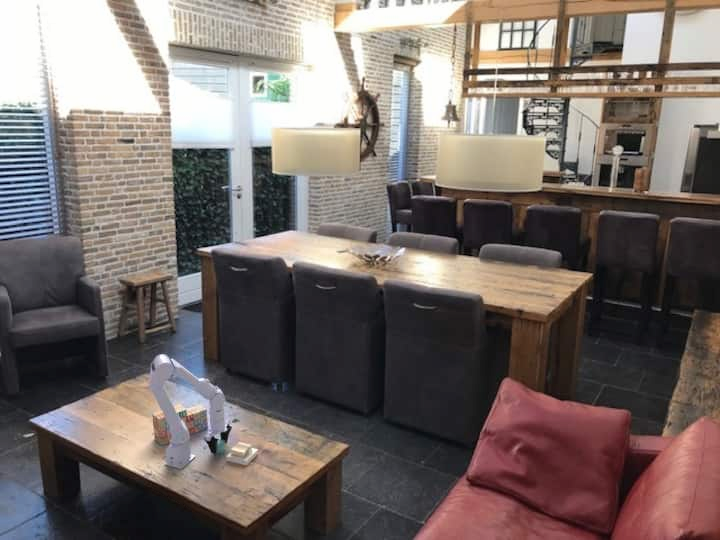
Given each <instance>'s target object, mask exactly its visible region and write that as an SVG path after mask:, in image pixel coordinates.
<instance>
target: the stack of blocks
mask: <svg viewBox="0 0 720 540" xmlns="http://www.w3.org/2000/svg"><path fill="white" fill-rule="evenodd" d="M173 406H174V408H175V410H176V412H177V414H178V415H179V417H180V418H181V419H182V420H183V421H184V422H185V423H186V427H187V429H188V431H189V433H190V435H193V434H195V433H198V432H201V431H204V430H207V429H209V426H208V425H209V423H208V422H209V421H208V412H207V411H208V410H207V408H205V407H204V406H203V405H202V404H197V405H193V406H190V407H188V408H187V407H186V408H185V407H184V406H183V405H182V404H177V405H173ZM152 426H153V434H154V435H153V437H154V440H155V441H156V442H157V443H158V444H159V445H160V446H161V445H164V444H168V443H170V439H171V436H172V434H171V431H170V429H169V424H168V422H167V420H166V418H165V416H164V414H163V412H162V410H161V409H160V410H158V411H155V412H152Z"/></svg>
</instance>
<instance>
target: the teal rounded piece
mask: <svg viewBox="0 0 720 540" xmlns="http://www.w3.org/2000/svg"><path fill="white" fill-rule="evenodd" d="M218 439H219V440H218V442H217V451H216V453H215V454H214V455H216V456H217V455H223V454H224V453H225V452H226V444H225V440H223V439H221V438H218Z"/></svg>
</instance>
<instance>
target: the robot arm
mask: <svg viewBox="0 0 720 540" xmlns="http://www.w3.org/2000/svg"><path fill="white" fill-rule="evenodd" d="M148 376H149V378H148V386H149V389H150V390H151V393H152V395H153V397H154V398H155V400H156V402H157V405H158V406H159V408H160V411H161V410H162V412H163V414H164V416H165V418H166V420H167V422H168V424H169V429H170V431H171V434H172V436H171V439H170V442H169V445H168V446H167V447H166V448H165V450H164V451H165V452H164V453H165V454H164V455H165V462H164V466H169V467H172V468H176V469H180V470H181V469H183V468H184V467H186V465H188V464H189V463H191V461H193V460H194V459H195V458H196V454H191V441H190V436H191V434H190V433H189V431H188V429H187V427H186V423H185V422H184V421H183V420H182V419H181V418H180V417H179V415H178V414H177V412H176V410H175V408H174V406H175V405H174V404H173V402H172V400H171V398H170V396H169V394H168V393H167V390H166V388H165V386H164V385H165V383H166V382H167V381H168V380H169V379H170V378H172V379H173V378H174V379H175V378H177V377H178V378H180V379H182V380H183V381H186V383H188V384H190V385H192V386H193V387H192V388H193V391H194V392H196V393H197V394H198V395H200V396H202V397H203V398H204V399H205V400H208V401H209V402H208V403H209V404H208V405H209V424H210V425H209V426H210V427H209V428H208V431H207V433H206V434H205V435H204V436H203V437H204V438H203V440H204V442H205V443H206V444H207V446H208V448H209V451H210V453H211V454H214V455H216V454H215V453H216V451H217V442H218V440H219V439H223V440H225V445H227V444H228V440H229V435H230V434H231V431H232V429H233V428H232V426H231V419H228V418H225V417H226V416H225V414H226V413H225V405H224V404H225V403H226V397H225V395H224V393H223V391H222V389H221V388H220V387H218V385H213V384H212V383H211V382H210V380H209V378H203V377H200V378H198V377H197V376H196V375H194V374H193V373H192V372H190V371H189V370H188V369H187V368H186V367H185V366H183V365H182V364H181V363H179V362H178V361H177V360H176V359H174V358H170V356H169V355H167V354H166V353H165V354H164V353H162V354H161V353H160V354H157V355H156V356H155V357H154V359H153V360H152V362H151V364H150V372H149V375H148ZM219 434H220V438H216V437H215V436H216V435H219Z"/></svg>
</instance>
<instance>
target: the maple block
mask: <svg viewBox="0 0 720 540" xmlns="http://www.w3.org/2000/svg"><path fill="white" fill-rule="evenodd" d="M252 448H253V445H252V444H249V443H245V442H241V441H239V442H237V443H236V444H235V445H234V446H233V447H232V448H230V452H231V455H232V456H236V457H240V458H245V457H246V456H247V455H248V454H249V453H250V452H251V451H252Z"/></svg>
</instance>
